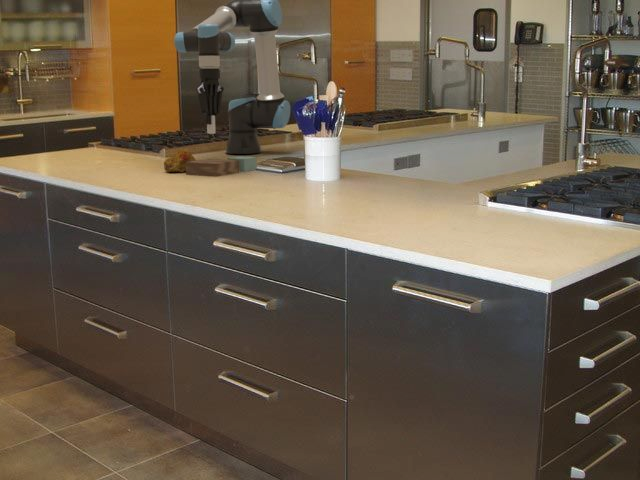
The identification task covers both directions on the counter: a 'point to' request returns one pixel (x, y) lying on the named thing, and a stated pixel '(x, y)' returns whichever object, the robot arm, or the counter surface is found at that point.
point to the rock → (178, 161)
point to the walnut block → (212, 167)
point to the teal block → (246, 163)
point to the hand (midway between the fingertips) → (211, 133)
